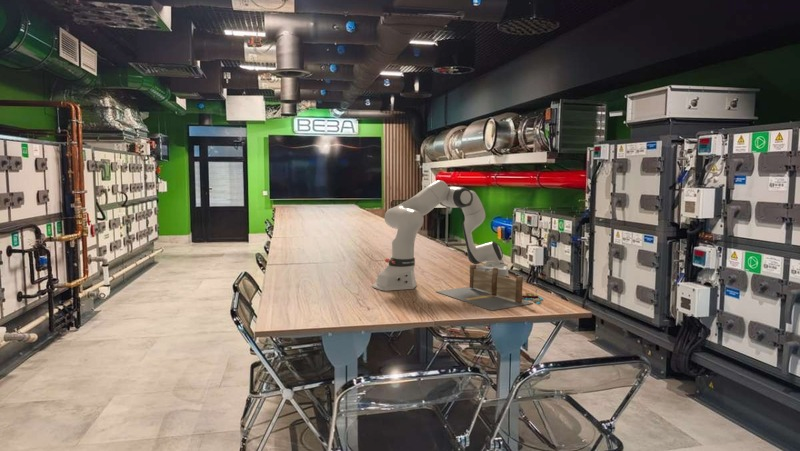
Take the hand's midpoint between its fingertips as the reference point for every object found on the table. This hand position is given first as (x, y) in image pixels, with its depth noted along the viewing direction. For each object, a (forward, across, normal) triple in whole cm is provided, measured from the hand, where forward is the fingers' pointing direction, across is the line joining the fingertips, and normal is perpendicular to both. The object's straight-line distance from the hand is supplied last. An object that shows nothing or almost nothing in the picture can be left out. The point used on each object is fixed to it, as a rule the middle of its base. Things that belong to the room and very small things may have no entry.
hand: (485, 273), depth 269 cm
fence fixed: (+30, +17, +5) cm, 34 cm away
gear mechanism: (+23, +27, +6) cm, 36 cm away
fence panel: (+20, +3, +5) cm, 21 cm away
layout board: (+31, +6, +6) cm, 32 cm away
